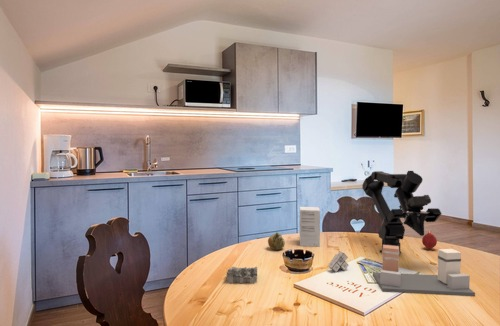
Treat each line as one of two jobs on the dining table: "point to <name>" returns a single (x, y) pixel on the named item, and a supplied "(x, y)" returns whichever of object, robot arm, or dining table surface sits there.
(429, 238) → the onion
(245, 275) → the egg carton
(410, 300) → the dining table surface
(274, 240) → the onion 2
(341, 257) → the building blocks
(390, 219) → the robot arm
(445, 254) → the white tall rectangular block
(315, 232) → the supplement box
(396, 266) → the salmon pink block
